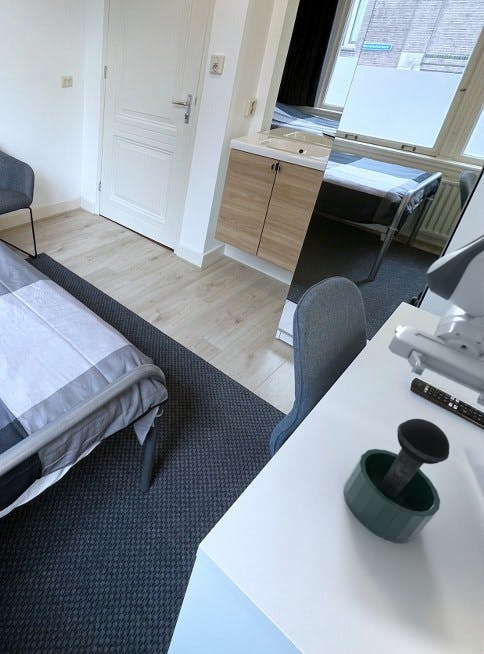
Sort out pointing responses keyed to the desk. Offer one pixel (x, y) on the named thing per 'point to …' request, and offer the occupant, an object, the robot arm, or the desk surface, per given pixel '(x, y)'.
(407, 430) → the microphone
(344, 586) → the desk surface
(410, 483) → the tin
